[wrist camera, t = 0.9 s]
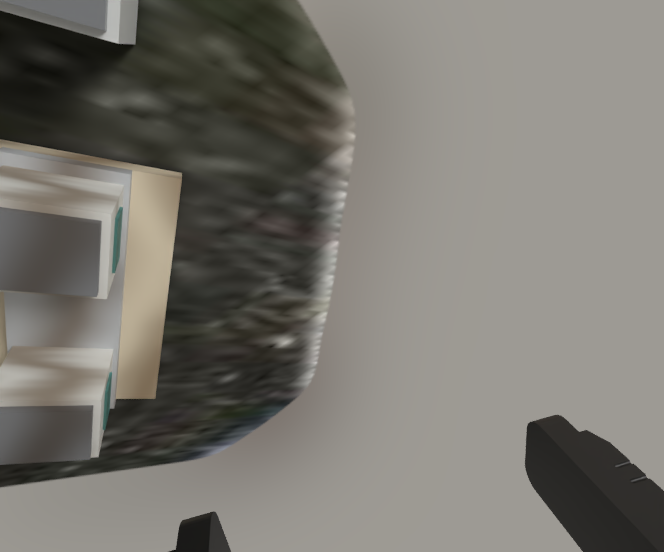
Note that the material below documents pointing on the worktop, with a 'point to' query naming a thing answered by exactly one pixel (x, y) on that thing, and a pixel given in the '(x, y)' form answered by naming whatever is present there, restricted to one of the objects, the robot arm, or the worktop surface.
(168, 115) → the worktop surface
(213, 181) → the worktop surface
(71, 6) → the block
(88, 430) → the rail board
